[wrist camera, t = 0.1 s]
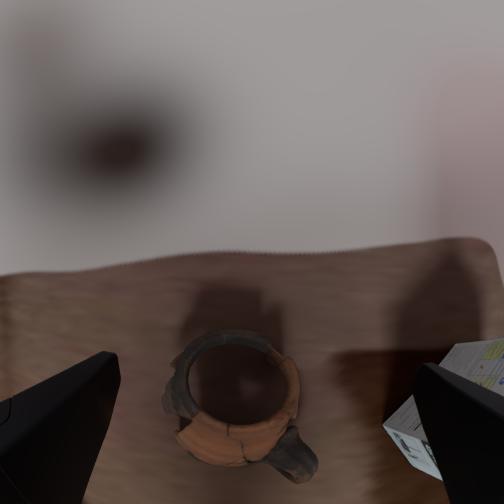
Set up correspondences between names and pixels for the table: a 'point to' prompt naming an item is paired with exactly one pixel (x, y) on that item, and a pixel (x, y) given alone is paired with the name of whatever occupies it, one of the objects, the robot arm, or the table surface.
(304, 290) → the table surface
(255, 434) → the brown hollow fragmented part
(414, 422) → the light bulb box
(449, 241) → the table surface
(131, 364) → the table surface
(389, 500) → the table surface
